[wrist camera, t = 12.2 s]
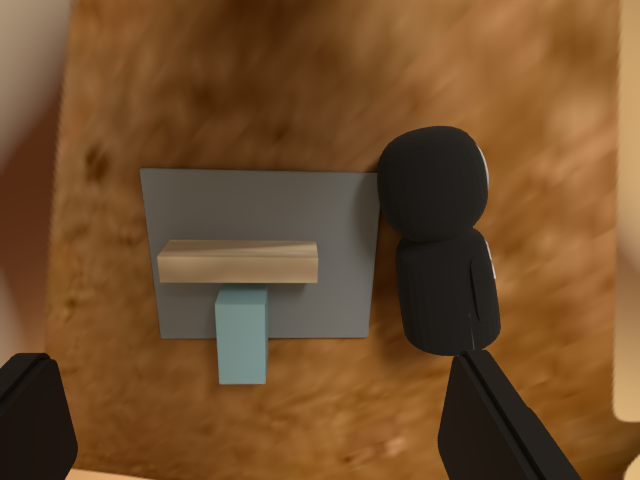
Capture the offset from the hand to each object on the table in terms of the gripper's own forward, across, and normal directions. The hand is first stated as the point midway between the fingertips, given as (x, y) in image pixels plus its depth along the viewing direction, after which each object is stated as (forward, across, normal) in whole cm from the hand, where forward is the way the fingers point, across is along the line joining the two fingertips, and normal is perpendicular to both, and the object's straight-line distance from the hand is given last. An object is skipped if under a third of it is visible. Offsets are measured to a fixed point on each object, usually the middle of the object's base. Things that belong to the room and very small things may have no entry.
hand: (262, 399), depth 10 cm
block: (+27, +4, +12) cm, 30 cm away
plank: (+30, +4, +9) cm, 32 cm away
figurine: (+31, -14, +6) cm, 34 cm away
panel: (+30, +2, +10) cm, 32 cm away
